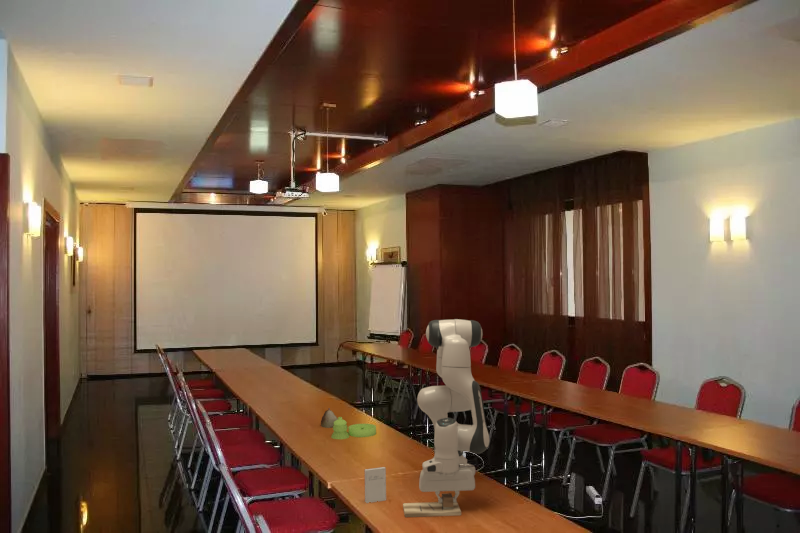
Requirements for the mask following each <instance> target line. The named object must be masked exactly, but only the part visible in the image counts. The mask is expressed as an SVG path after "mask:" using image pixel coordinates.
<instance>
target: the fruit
mask: <svg viewBox="0 0 800 533" xmlns="http://www.w3.org/2000/svg"><path fill="white" fill-rule="evenodd" d="M336 420H338V417H337V415H335V413H334V412H333V410H330V408H328V409H327V410H325V411H324V413H323V415H322V417H321V420H320V426H321V428H326V429H330V428H331V429H333V426H334V421H336Z"/></svg>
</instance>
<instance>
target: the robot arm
mask: <svg viewBox="0 0 800 533" xmlns="http://www.w3.org/2000/svg"><path fill="white" fill-rule="evenodd" d="M425 337H426V339H427V343H428V344H429V345H430V346H431V347H434V348H436V364H435V367H436V369H435V370H436V374H437V375H438V376H439V377H440V378H441V380H442V382H443V383H444V385H431V386H426V387H423V388H421V389H420V390H419V392H418V394H417V398H416V401H417V405H418V407H419V409H420V410H421V411H422V412H423V413H424V414H426V416H428V417H429V419H430V420H431V422H432V424H433V429H434V435H433V436H434V440H433V442H434V443H433V444H434V446H433V448H434V449H433V451H434V456H433V457H432V458H431V459H428V460H426V461H424V462H422V465H421V466H422V469H421V471H420V474H419V481H418V482H419V483H418V484H419V485H418V488H419V491H421V492H422V493H428V492H429V493H431V492H432V493H433V492H434V493H435V496H436V497H437V499H438V501H437V502H438V503H439V504H440V503H443V498H442V496H440V493H441V492H454V493H455V494H454V496H453V503H456V502H457V499H458V497H459V495H460V492H463V491H474V490H475V489H476V479H475V475H476V467H475V465H473V464H471V463H468V459H467V458H466V457H465V456H464V452H468V453H473V454H478V455H480V454H483V452H485V451H486V450H487V449H488V448H489V446H490V433H489V430H488V427H487V426H488V425H487V421H486V415H485V409H484V408H485V407H484V403H483V402H484V401H483V395H482V390H481V387H480V385H479V382H478V381H476V380H475V378H474V376H473V375H472V367H471V366H472V363H471V361H472V360H471V350H470V348H472V347H477V346H478V345H480V344H481V342H482V339H483V329H482V326H481V323H479V321H476V320H474V319H470V320H468V319H460V318H459V319H458V318H454V319H434V320H433V319H432V320H431V321H429V322H428V325H427V327H426V331H425ZM467 411H470V412H471V417H472V424H465V423H463V424H462V423H458V422H457V420H456V419H455V418H452V417H448V413H457V412H467Z"/></svg>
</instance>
